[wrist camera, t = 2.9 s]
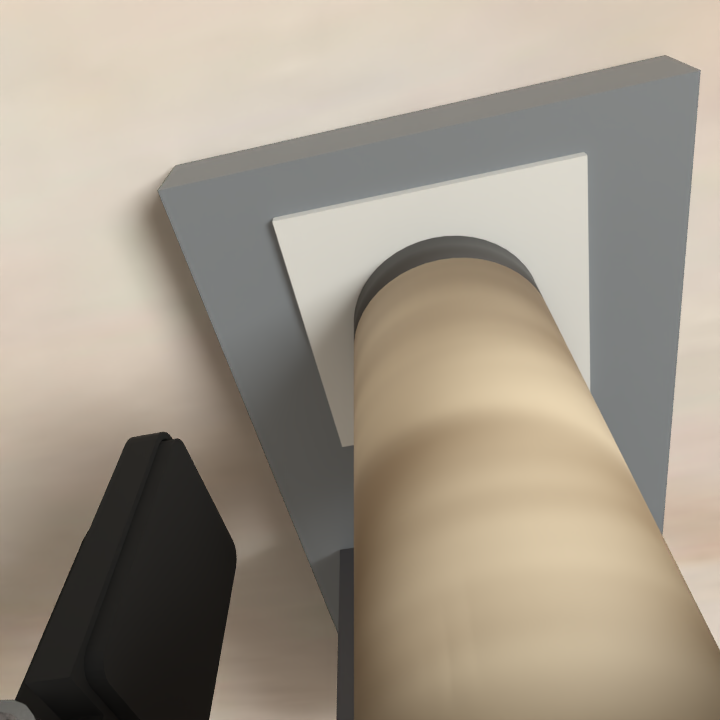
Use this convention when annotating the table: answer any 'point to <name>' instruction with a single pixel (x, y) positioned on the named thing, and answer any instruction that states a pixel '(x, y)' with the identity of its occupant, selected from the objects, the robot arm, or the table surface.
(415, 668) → the beige wooden cylinder
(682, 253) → the board
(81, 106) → the table surface
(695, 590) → the table surface
